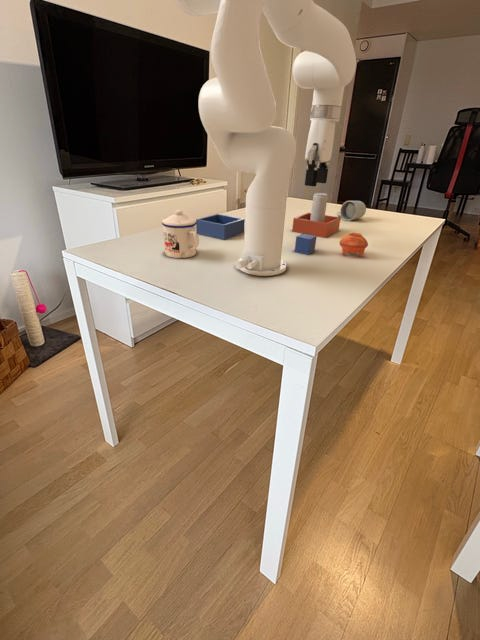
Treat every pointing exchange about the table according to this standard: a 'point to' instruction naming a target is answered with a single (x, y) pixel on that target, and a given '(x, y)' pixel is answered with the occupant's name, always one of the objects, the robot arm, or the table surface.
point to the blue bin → (220, 226)
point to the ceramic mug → (352, 210)
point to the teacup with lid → (180, 235)
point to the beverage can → (319, 207)
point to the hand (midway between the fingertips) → (315, 184)
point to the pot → (353, 243)
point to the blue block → (305, 243)
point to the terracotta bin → (316, 225)
